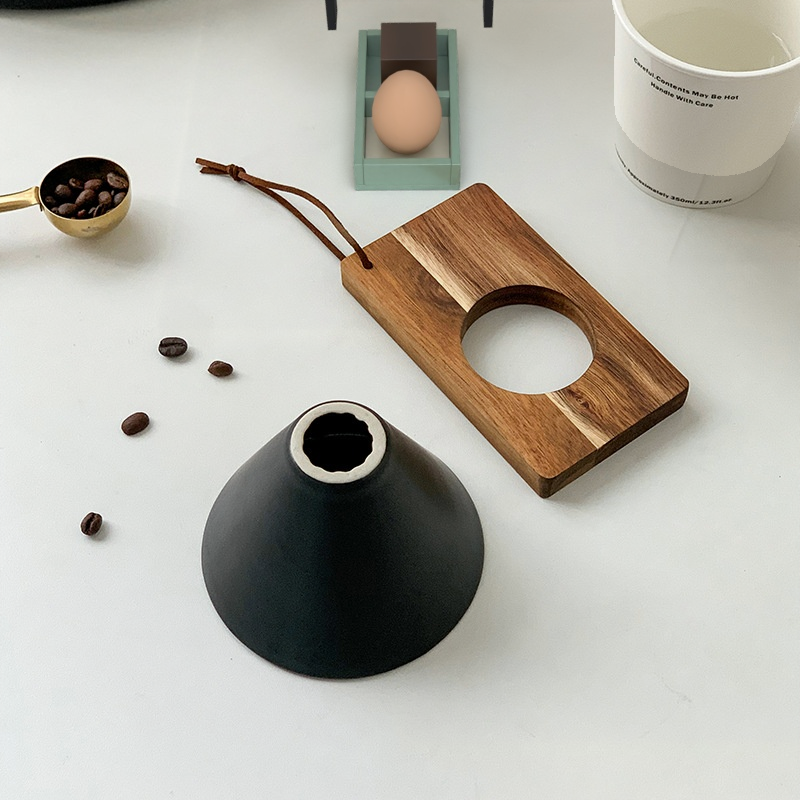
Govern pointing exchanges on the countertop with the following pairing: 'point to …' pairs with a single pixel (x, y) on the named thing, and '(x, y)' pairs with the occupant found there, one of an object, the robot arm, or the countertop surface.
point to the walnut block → (409, 49)
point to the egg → (406, 112)
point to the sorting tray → (395, 169)
